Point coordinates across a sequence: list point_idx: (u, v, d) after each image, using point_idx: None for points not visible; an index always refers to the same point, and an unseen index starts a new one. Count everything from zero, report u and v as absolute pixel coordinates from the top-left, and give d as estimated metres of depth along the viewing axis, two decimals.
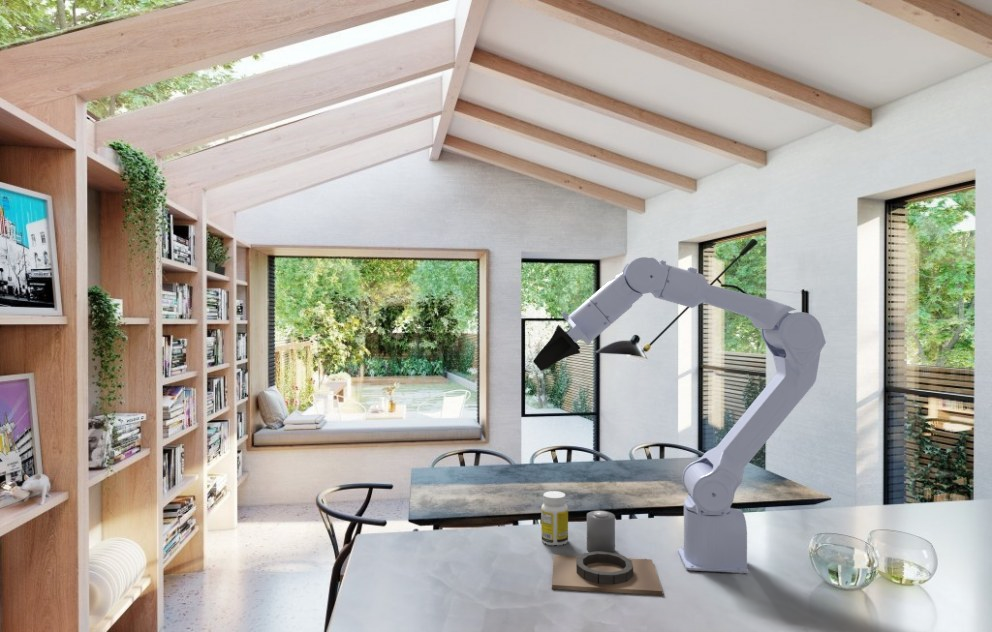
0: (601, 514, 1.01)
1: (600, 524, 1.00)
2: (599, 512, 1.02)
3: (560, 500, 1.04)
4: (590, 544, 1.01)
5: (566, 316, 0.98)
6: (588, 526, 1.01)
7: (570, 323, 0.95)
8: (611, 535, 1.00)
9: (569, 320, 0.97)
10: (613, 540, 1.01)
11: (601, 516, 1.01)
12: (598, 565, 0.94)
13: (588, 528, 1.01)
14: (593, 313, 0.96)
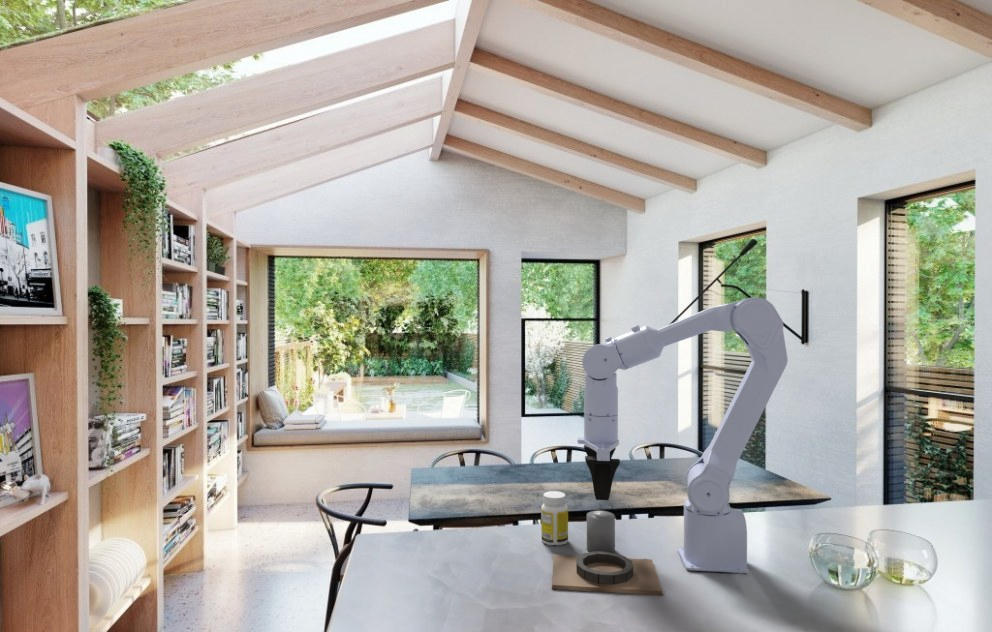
0: (601, 514, 1.01)
1: (600, 524, 1.00)
2: (599, 512, 1.02)
3: (560, 500, 1.04)
4: (590, 544, 1.01)
5: (583, 442, 1.01)
6: (588, 526, 1.01)
7: (591, 447, 0.98)
8: (611, 535, 1.00)
9: (588, 444, 0.99)
10: (613, 540, 1.01)
11: (601, 516, 1.01)
12: (598, 565, 0.94)
13: (588, 528, 1.01)
14: (598, 422, 0.99)
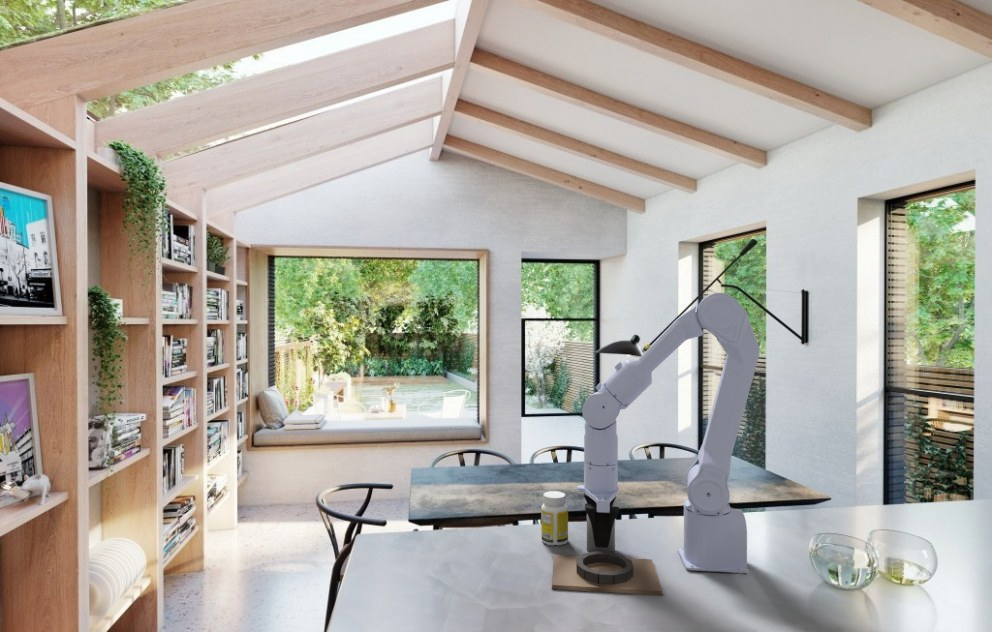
0: None
1: None
2: None
3: (560, 500, 1.04)
4: (590, 544, 1.01)
5: (583, 490, 1.01)
6: (588, 526, 1.01)
7: (591, 497, 0.98)
8: (611, 535, 1.00)
9: (588, 494, 0.99)
10: (613, 540, 1.01)
11: None
12: (598, 565, 0.94)
13: (588, 528, 1.01)
14: (598, 472, 0.99)
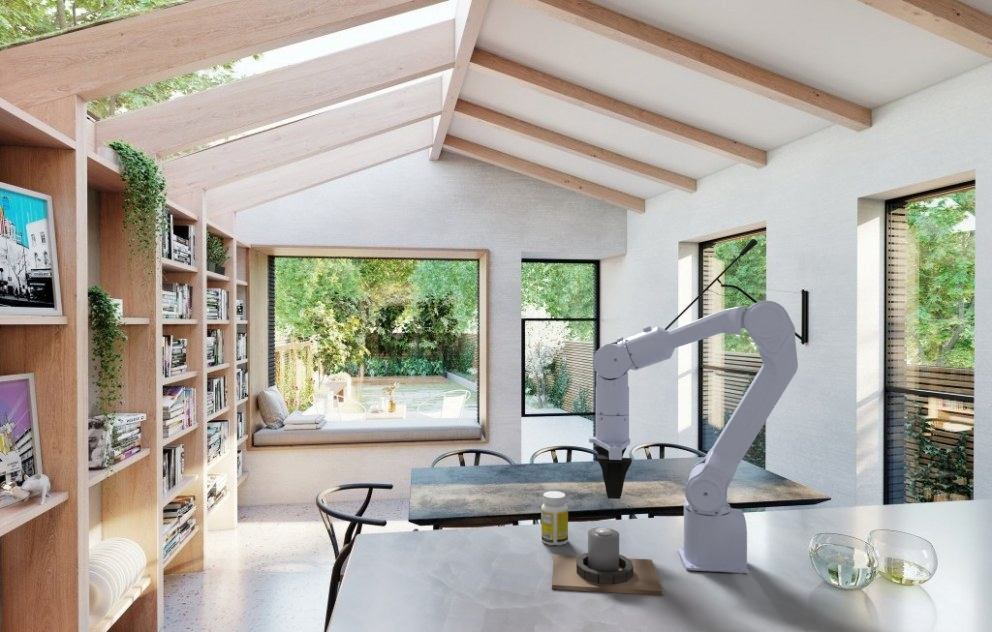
0: (604, 532, 0.91)
1: (603, 544, 0.90)
2: (602, 529, 0.92)
3: (560, 500, 1.04)
4: (591, 566, 0.91)
5: (595, 441, 1.02)
6: (589, 545, 0.91)
7: (603, 446, 0.99)
8: (615, 556, 0.90)
9: (600, 443, 1.00)
10: (617, 561, 0.91)
11: (604, 534, 0.91)
12: None
13: (589, 547, 0.91)
14: (610, 422, 1.00)
